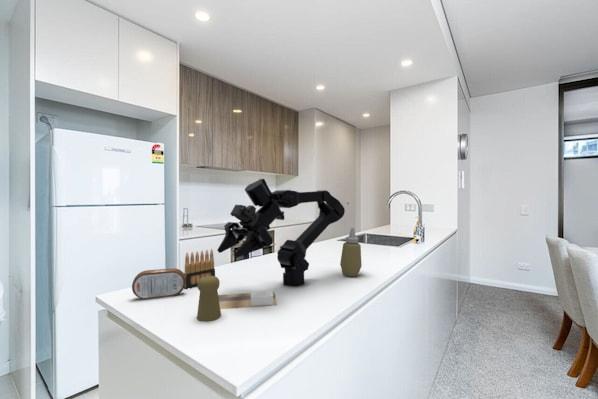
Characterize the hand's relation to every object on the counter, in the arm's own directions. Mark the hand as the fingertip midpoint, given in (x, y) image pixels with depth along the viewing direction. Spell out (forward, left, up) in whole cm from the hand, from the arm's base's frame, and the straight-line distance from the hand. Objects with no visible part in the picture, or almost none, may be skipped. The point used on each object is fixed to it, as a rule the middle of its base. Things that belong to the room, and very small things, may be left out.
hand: (226, 253), depth 79 cm
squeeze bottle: (-44, -25, -15) cm, 52 cm away
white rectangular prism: (-10, +1, -14) cm, 17 cm away
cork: (+3, +8, -15) cm, 18 cm away
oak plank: (-4, -2, -15) cm, 15 cm away
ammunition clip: (+11, -22, -15) cm, 29 cm away
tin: (+21, -12, -15) cm, 29 cm away
